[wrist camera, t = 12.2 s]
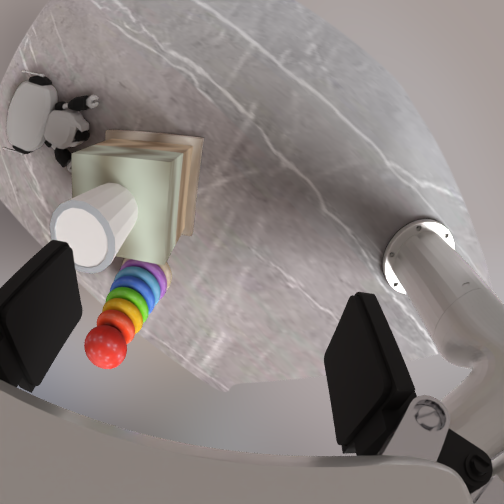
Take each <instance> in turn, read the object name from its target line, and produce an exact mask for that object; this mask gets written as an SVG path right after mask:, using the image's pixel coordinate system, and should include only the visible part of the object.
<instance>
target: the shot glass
mask: <svg viewBox="0 0 504 504" xmlns="http://www.w3.org/2000/svg"><path fill="white" fill-rule="evenodd" d="M137 218H138V206H137V204H136V201H135V198H134V196H133V195H132V194H131V193H130V191H129V190H128V189H127V188H125V187H123V186H122V185H120V184H117V183H106V184H103V185H100V186H98V187H96V188H94V189H91V190H89V191H87V192H85V193H83V194H80V195H78V196H76V197H74V198H72V199H70V200H68V201H66V202H64V203H62V204H60V205H59V206H58V207H57V209H56V210H55V211H54V212H53V214H52V218H51V223H50V232H51V240H58V241H63V242H67V243H68V244H69V247H71V248H72V250H73V256H74V263H75V269H76V270H78V271H81V272H85V273H90V274H92V273H97V272H102V271H103V270H104V269H106V268H107V267H108V266H109V265H110V264H111V263H112V261H113V259H114V258H115V256H116V254H117V253H118V251H119V249H120V248H121V246H122V244H123V243H124V241H125V239H126V238H127V236H128V235H129V233H130V231H131V230H132V228H133V227H134V225H135V222H136V220H137Z"/></svg>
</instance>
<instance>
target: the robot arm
mask: <svg viewBox="0 0 504 504" xmlns="http://www.w3.org/2000/svg"><path fill="white" fill-rule="evenodd" d="M383 273H384V276H385V278H386V280H387V282H388V283H389V285H390V286H391V287H392V288H393V289H394V290H396V291H397V292H400V293H403V294H407V296H408V297H409V299H410V301H411V302H412V304H413V306H414V307H415V309H416V311H417V313H418V314H419V316H420V318H421V320H422V322H423V323H424V325H425V327H426V329H427V331H428V332H429V334H430V336H431V338H432V340H433V342H434V344H435V345H436V347H437V349H438V351H439V353H440V354H441V356H442V357H443V358H444V359H445V360H446V361H448V362H449V363H451V364H453V365H455V366H458V367H463V368H468V369H472V371H471V373H470V374H469V375H468V376H467V377H466V378H465V379H464V380H463V381H462V382H461V383H460V384H459V385H458V386H457V387H456V388H455V389H453V390H452V391H451V392H450V393H449V394H447V395H446V396H445V397H444V398H443V399H441V400H440V401H439V400H437V399H436V398H434V397H431V396H426V395H423V396H418V397H417V396H416V393H415V388H414V385H413V382H412V380H411V377H410V375H409V372H408V370H407V367H406V364H405V362H404V360H403V357H402V355H401V352H400V350H399V348H398V345H397V343H396V340H395V338H394V336H393V334H392V331H391V329H390V327H389V324H388V322H387V320H386V318H385V316H384V313H383V311H382V309H381V307H380V305H379V302H378V300H377V298H376V296H375V295H374V294H370V293H363V292H357V293H356V294H355V296H350V298H349V300H348V302H347V305H346V307H345V309H344V312H343V314H342V317H341V319H340V321H339V323H338V326H337V328H336V330H335V333H334V335H333V337H332V339H331V341H330V344H329V346H328V348H327V350H326V352H325V356H324V365H325V370H326V376H327V382H328V388H329V394H330V400H331V407H332V413H333V420H334V426H335V433H336V440H337V443H338V444H339V445H342V451H343V453H356V454H357V456H330V457H329V456H289V455H270V454H258V453H247V452H238V451H230V450H223V449H216V448H209V447H202V446H197V445H191V444H186V443H181V442H176V441H171V440H166V439H161V438H157V437H154V436H149V435H145V434H141V433H137V432H134V431H130V430H126V429H123V428H120V427H116V426H113V425H110V424H107V423H104V422H100V421H97V420H94V419H91V418H89V417H86V416H83V415H80V414H77V413H75V412H72V411H69V410H67V409H64V408H62V407H59V406H57V405H54V404H51V403H49V402H47V401H44V400H42V399H40V398H38V397H35V396H33V395H31V394H29V393H27V392H25V391H22V390H21V389H18V388H16V387H17V386H18V385H19V386H20V387H21V388H23V389H25V390H27V391H29V392H31V393H32V391H33V389H34V388H35V386H38V385H40V383H41V382H42V380H43V378H44V376H45V375H46V373H47V371H48V370H49V368H50V366H51V364H52V363H53V361H54V360H55V358H56V356H57V355H58V353H59V351H60V350H61V348H62V347H63V345H64V343H65V342H66V340H67V339H68V337H69V335H70V334H71V332H72V331H73V329H74V328H75V326H76V325H77V323H78V322H79V320H80V319H81V316H82V305H81V301H80V294H79V289H78V283H77V277H76V270H75V263H74V256H73V250H72V248H71V247H69V244H68V243H67V242H63V241H58V240H52V241H50V242H49V243H48V244H47V245H46V246H44V247H43V248H42V249H41V250H40V251H39V252H38V253H37V254H36V255H34V256H33V258H31V259H30V260H29V261H28V262H27V263H26V264H25V265H24V266H23V267H22V268H21V269H20V270H18V271H17V272H16V273H15V274H14V275H13V276H12V277H11V278H10V279H9V280H8V281H7V282H6V283H5V284H4V285H3V286H2V287H1V288H0V504H504V453H503V454H501V455H500V456H498V457H497V458H496V459H494V460H493V461H491V458H493V457H494V456H496V455H497V454H498V453H500V452H501V451H503V450H504V304H503V302H502V301H501V300H500V299H499V298H498V297H497V295H496V294H495V293H494V292H493V291H492V290H491V289H490V287H489V286H488V285H487V284H486V283H485V282H484V281H483V279H482V278H481V277H480V276H479V275H478V274H477V273H476V272H475V271H474V270H473V269H472V267H471V266H470V265H469V264H468V263H467V262H466V261H465V260H464V259H463V258H462V257H461V256H460V255H459V254H458V253H457V252H456V251H455V244H454V240H453V237H452V235H451V233H450V231H449V230H448V229H447V228H446V227H445V226H444V225H443V224H441V223H439V222H438V221H435V220H431V219H422V220H417V221H414V222H412V223H410V224H408V225H406V226H405V227H403V228H402V229H401V230H400V231H398V232H397V233H396V234H395V236H394V237H393V238H392V239H391V241H390V242H389V244H388V246H387V248H386V251H385V253H384V257H383Z"/></svg>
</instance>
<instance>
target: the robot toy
mask: <svg viewBox="0 0 504 504" xmlns="http://www.w3.org/2000/svg"><path fill="white" fill-rule="evenodd" d="M21 72H24V73H30V74H35V75H39V76H33V77H30V79H29V80H27V81H24V82H22V83H21V84H20V85H19V86H18V88H17V89H16V91H15V93H14V95H13V97H12V100H11V103H10V105H9V108H8V114H7V123H6V132H7V137H8V141H9V143H10V144H12V145H13V148H14V149H15V150H12V149H9V148H6V147H3V148H2V149H3V150H8V151H12V152H16V153H20V155H23V154H28V153H31V152H33V151H34V150H36V149H38V148H40V147H41V146H42V145H43V144H44V143H45V144H46V145H47V146H48V147H52V148H53V149H54V151H55V157H56V160H57V161H58V162H59V163H60V164H61V166H62V167H65V166H67V169H68V171H69V172H71V173H72V154H71V153H70V152H69V150H68V149H66V148H67V147H75V146H77V145H80V144H82V143H83V142H84V141H86V140H87V139H88V137H89V132H88V131H87V130H89V123H88V122H87V121H86V120H85V119H84V118H83V116H82V114H81V113H80V112H78V111H81V110H87V109H88V108H92V109H93V108H95V107H97V106H98V104H99V102H96V103H94V100H99V98H98V96H97V95H91V96H90V97H89V96H81V97H76V98H74V99H73V100H72V101H70V102H69V103H66V104H65V102H59V103H57V101H58V97H57V91H56V89H55V88H54V87H53V86H52V82H51V81H50V80H49V79H48V78H47V77H44V76H45V74H38V73H33V72H29V71H26V70H22V71H21ZM68 108H69V109H68Z"/></svg>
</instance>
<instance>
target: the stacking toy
mask: <svg viewBox="0 0 504 504" xmlns="http://www.w3.org/2000/svg"><path fill="white" fill-rule="evenodd" d="M171 279H172V274H171V270H170V267H169V265H168V263H167V262H166V263H165V265H160V264H154V263H149V262H143V261H138V260H133V259H128V258H125V259H124V261H123V263H122V266H121V268H120V271H119V272H118V274H117V275H116V277H115V280H114V282H113V284H112V286H111V288H110V293H109V294H108V296H107V298H106V303H105V305H104V307H103V311H102V313H101V314H100V315H99V317H98V319H97V327H95V328H93V329H92V330H91V331H90V332H89V333H88V335H87V336H86V339H85V345H84V346H85V352H86V355H87V357H88V358H89V360H90V361H91V362H92V363H93V364H94V365H96V366H98V367H100V368H104V369H112V368H115V367H117V366H118V365H120V364H121V362H122V361H123V360H124V359H125V356H126V352H127V344H128V343H129V342H130V341H132V339H133V338H134V335H135V334H136V333H137V332H139V331H140V329H141V328H142V325H143V323H144V322H145V321H146V319H147V317H148V315H149V314H150V313H151V312H152V310H153V308H154V306H155V305H156V304H157V303H158V301H159V300H160V299H161V298H162V297H163V296H164V294H165V292H166V290H167V289H168V288H169V286H170V284H171Z"/></svg>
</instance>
